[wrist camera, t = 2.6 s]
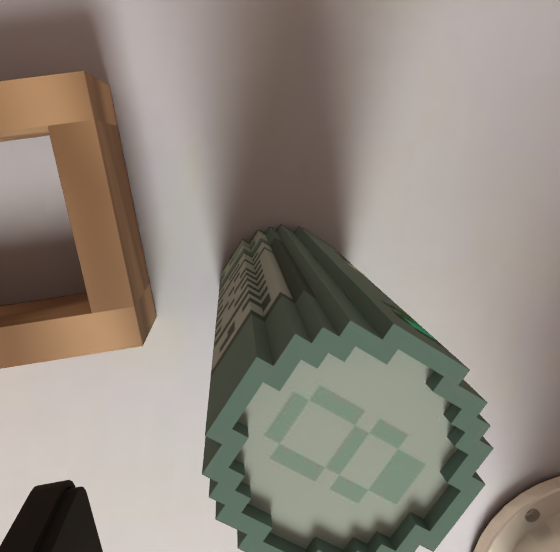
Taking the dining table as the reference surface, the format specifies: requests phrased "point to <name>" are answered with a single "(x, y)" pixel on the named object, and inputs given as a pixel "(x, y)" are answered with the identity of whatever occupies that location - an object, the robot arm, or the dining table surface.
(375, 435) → the can
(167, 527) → the dining table surface
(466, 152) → the dining table surface
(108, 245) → the socket
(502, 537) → the robot arm
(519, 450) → the dining table surface
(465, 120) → the dining table surface
